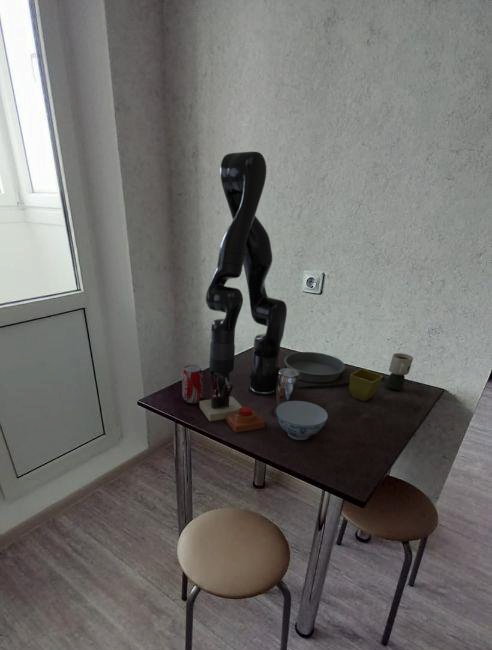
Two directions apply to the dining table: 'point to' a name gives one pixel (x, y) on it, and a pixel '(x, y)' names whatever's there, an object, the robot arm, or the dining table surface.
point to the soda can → (192, 384)
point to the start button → (245, 411)
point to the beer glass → (286, 386)
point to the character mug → (398, 370)
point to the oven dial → (215, 401)
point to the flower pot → (364, 384)
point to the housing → (244, 421)
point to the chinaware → (301, 418)
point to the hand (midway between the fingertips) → (220, 405)
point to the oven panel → (219, 409)
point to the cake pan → (315, 366)
